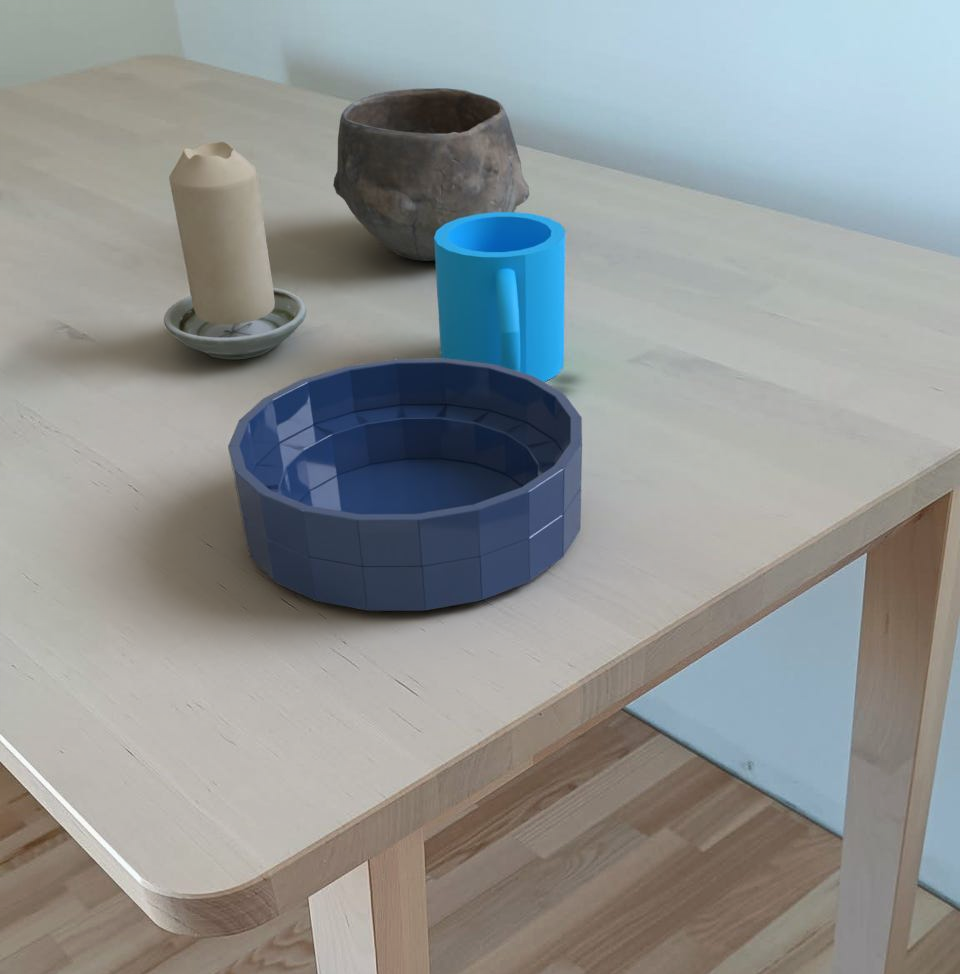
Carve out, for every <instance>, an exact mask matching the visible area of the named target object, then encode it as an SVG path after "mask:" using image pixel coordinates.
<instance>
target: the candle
mask: <svg viewBox="0 0 960 974" xmlns="http://www.w3.org/2000/svg"><path fill="white" fill-rule="evenodd" d="M168 180H169V186H170V190H171V191H170V192H171V197H172V203H173V206H174V207H173V208H174V212H175V217H176V222H177V227H178V232H179V238H180V243H181V249H182V254H183V260H184V264H185V270H186V271H185V272H186V275H187V282H188V287H189V292H190V296H191V297H192V302H193V307H194V311H195V313H196V316H197V317H198V318H199V319H201V320H203V321H205V322H209V323H214V324H239V323H245V322H250V321H254V320H257V319H260V318H262V317H264V316H266V315H268V314H269V313H271V312H272V311H273V309H274V306H275V300H274V291H273V288H274V283H273V277H272V271H271V264H270V263H271V262H270V259H269V258H270V255H269V249H268V242H267V237H266V236H267V235H266V230H265V229H266V228H265V223H264V222H265V221H264V214H263V209H262V208H263V207H262V202H261V193H260V188H259V187H260V186H259V180H258V173H257V168H256V167H255V165H253V164H252V163H251V162H250V161H249V160H248V159H246V158H245V157H244V156H243V155H242V154H240V153H239V152H238V151H236V150H235V149H234V147H232V146H231V145H229V144H228V143H227V142H226V141H220V142H219V141H218V142H208V143H207V142H206V143H202V144H199V145H198V146H196V148H194V149H191V148H184V149H183V151H182V153H181V155H180V157H179V159H178V161H177V163H176V164H175V166H174V168H173V169H172V171H171V173H170V174H169V176H168Z"/></svg>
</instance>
